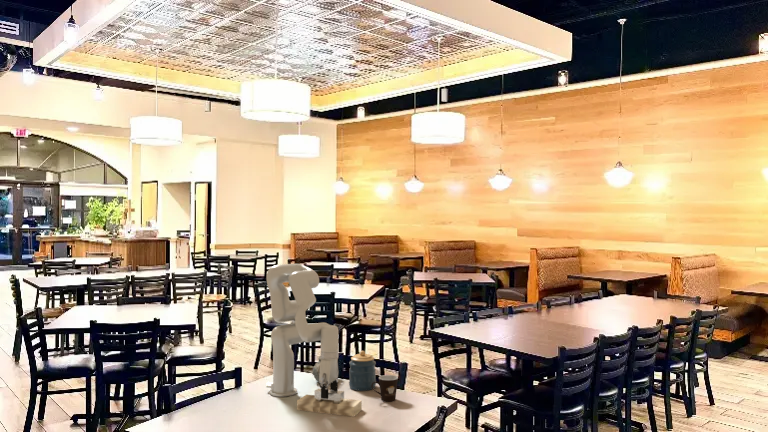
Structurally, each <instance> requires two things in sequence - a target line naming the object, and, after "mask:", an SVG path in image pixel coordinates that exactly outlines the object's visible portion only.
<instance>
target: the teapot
mask: <svg viewBox="0 0 768 432" xmlns="http://www.w3.org/2000/svg"><path fill="white" fill-rule="evenodd" d="M320 363H321V355H320V356H318V361H317V362H316V363H315V364H314V366H313V367H312V376H313V378H314V379H315V381H316V382H317V383H320V382H319V374H320ZM325 382H328V381H325Z"/></svg>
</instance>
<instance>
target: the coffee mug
mask: <svg viewBox="0 0 768 432" xmlns="http://www.w3.org/2000/svg"><path fill="white" fill-rule="evenodd" d="M398 379H399V377H398V376H396V375H391V374H385V375H380V376H379V377H378V381H377V380H376V381H375V382H373V383H372V385H371V387H372V389H371V390H373V391H374V392H375V393H377V394H378V395H380V401H382V402H385V403H393V402H394V401H396V398H397V397H396V396H397V390H398V382H399V381H398ZM374 383H376V384H378V386H379V390H380V391H377V390H376V389H375V388H374V389H373V384H374Z"/></svg>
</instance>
